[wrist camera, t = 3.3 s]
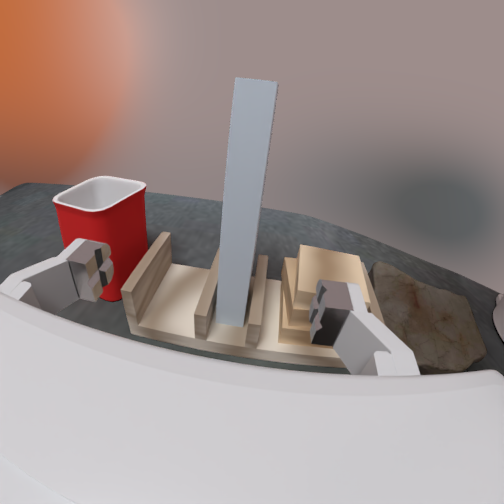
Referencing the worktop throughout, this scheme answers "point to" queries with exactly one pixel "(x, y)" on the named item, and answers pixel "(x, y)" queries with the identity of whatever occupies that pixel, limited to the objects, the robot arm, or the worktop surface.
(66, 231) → the mug
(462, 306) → the brown flat slab
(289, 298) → the offcut stack
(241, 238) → the tall board
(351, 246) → the worktop surface
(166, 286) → the offcut rack
